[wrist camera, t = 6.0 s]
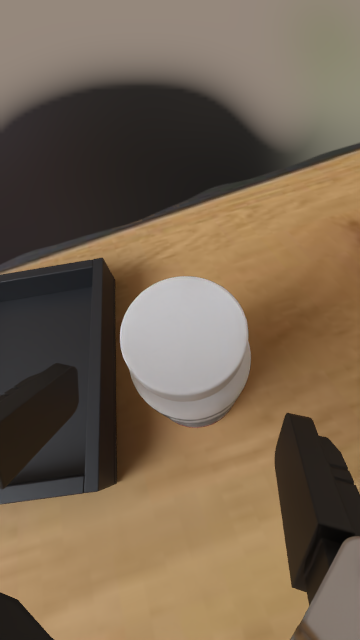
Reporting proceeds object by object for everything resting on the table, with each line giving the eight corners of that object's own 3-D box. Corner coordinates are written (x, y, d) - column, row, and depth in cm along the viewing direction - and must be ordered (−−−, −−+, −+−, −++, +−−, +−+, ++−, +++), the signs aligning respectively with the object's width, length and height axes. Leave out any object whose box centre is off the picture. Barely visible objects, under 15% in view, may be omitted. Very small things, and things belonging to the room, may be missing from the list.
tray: (115, 279, 23) (102, 257, 20) (117, 483, 16) (98, 491, 13) (-41, 304, 23) (-73, 286, 21) (-106, 513, 16) (-168, 527, 14)
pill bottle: (149, 356, 19) (99, 281, 10) (222, 338, 19) (234, 248, 10) (163, 438, 17) (112, 430, 8) (247, 417, 17) (292, 386, 8)
